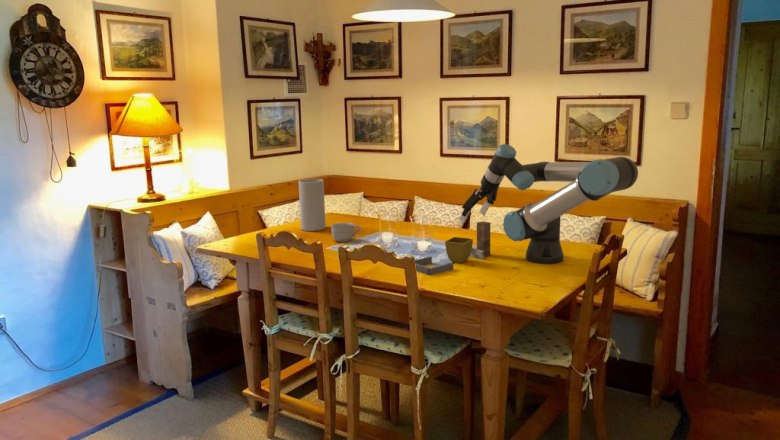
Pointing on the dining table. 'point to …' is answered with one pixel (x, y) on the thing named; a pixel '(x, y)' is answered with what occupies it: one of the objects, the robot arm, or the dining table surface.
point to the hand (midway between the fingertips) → (471, 217)
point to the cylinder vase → (312, 204)
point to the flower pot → (459, 249)
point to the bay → (434, 269)
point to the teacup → (344, 231)
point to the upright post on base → (482, 241)
